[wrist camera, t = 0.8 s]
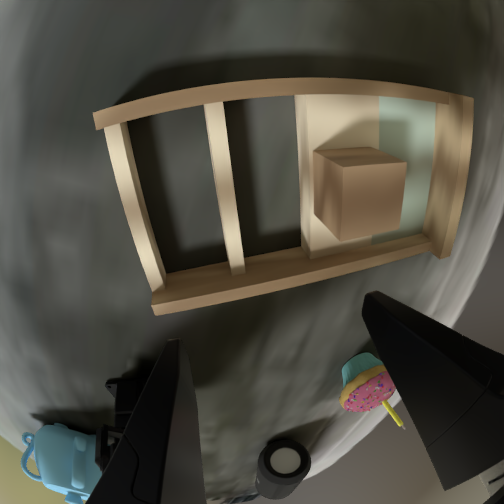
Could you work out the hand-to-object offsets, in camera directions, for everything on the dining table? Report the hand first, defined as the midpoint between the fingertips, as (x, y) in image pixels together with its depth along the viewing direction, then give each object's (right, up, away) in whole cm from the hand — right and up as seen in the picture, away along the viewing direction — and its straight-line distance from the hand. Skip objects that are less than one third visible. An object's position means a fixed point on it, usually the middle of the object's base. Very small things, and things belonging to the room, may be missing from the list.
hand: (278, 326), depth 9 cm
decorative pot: (-31, -30, +26) cm, 51 cm away
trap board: (+3, +8, +12) cm, 14 cm away
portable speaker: (+4, -42, +43) cm, 61 cm away
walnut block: (+5, +7, +10) cm, 14 cm away
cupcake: (+14, -13, +27) cm, 33 cm away
